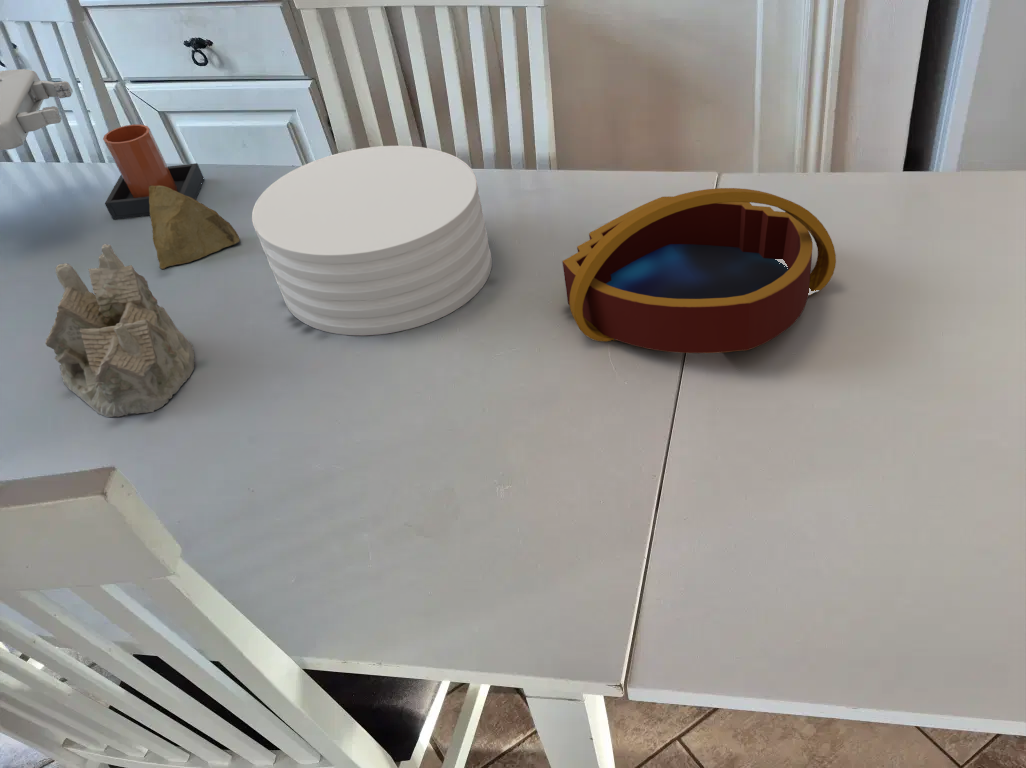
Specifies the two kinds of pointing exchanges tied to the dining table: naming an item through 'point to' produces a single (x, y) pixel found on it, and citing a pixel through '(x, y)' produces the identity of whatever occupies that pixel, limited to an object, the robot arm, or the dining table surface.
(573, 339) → the dining table surface
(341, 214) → the plate stack
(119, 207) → the tray
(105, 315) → the ceramic cottage
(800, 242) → the decorative basket
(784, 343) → the dining table surface
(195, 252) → the rock
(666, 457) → the dining table surface
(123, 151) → the cup
